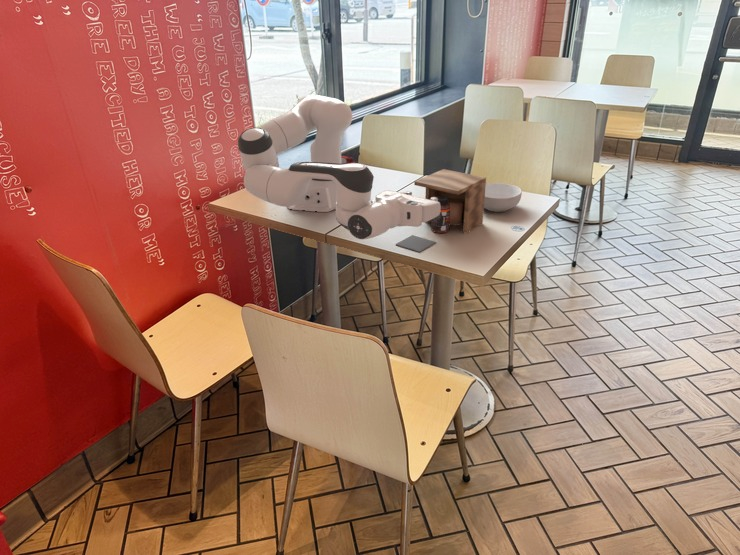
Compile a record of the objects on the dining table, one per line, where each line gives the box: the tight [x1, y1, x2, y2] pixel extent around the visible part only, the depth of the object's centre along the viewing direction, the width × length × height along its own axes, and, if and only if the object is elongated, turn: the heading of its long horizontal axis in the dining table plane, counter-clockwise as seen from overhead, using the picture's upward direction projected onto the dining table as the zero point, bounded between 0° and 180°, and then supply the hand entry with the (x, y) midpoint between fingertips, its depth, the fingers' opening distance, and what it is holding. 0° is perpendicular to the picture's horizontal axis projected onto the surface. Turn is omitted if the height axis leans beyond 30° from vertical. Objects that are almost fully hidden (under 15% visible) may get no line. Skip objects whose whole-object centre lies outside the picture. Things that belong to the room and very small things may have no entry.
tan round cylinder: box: [448, 201, 463, 226], centre depth 184 cm, size 5×5×7 cm
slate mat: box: [395, 234, 437, 253], centre depth 170 cm, size 9×9×1 cm
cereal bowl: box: [484, 182, 523, 213], centre depth 196 cm, size 17×17×7 cm
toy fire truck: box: [341, 155, 356, 164], centre depth 228 cm, size 7×12×10 cm, turn 51°
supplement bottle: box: [430, 196, 450, 234], centre depth 177 cm, size 6×6×11 cm
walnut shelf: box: [414, 168, 487, 234], centre depth 179 cm, size 17×16×16 cm
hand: (422, 196), depth 164 cm, fingers open, 8 cm apart
